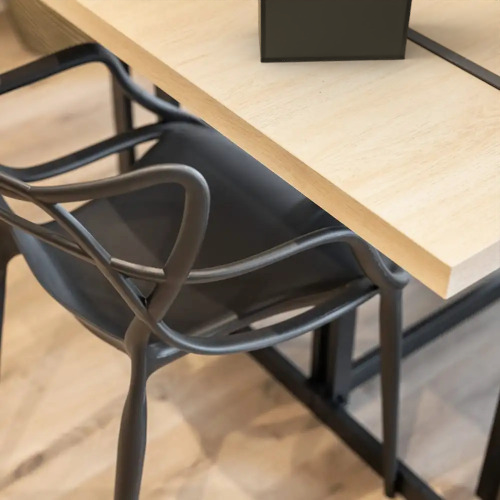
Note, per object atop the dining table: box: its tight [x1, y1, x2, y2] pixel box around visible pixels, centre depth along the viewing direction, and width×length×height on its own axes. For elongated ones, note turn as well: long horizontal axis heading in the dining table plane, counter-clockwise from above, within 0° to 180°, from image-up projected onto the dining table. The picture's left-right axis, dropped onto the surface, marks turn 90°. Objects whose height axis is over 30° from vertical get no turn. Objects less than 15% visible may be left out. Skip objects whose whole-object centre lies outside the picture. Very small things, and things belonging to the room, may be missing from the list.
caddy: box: [257, 0, 413, 63], centre depth 89 cm, size 16×8×8 cm, turn 91°
